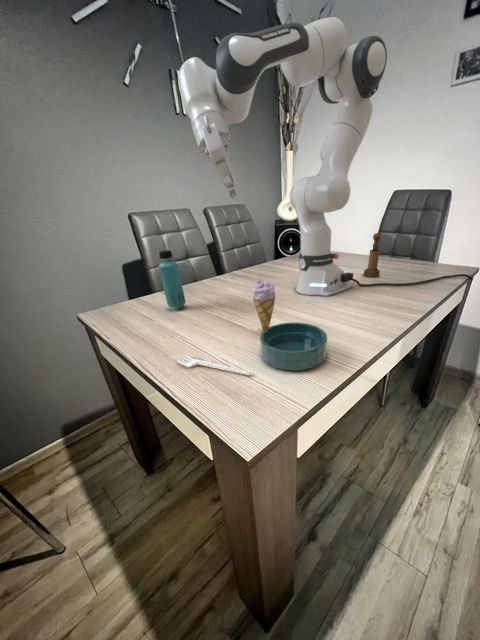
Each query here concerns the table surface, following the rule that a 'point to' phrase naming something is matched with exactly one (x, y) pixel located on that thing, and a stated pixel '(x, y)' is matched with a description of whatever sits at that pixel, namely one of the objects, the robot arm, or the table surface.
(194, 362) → the fork
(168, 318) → the table surface
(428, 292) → the table surface
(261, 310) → the ice cream cone
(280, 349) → the bowl
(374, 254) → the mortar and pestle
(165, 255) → the beverage bottle
